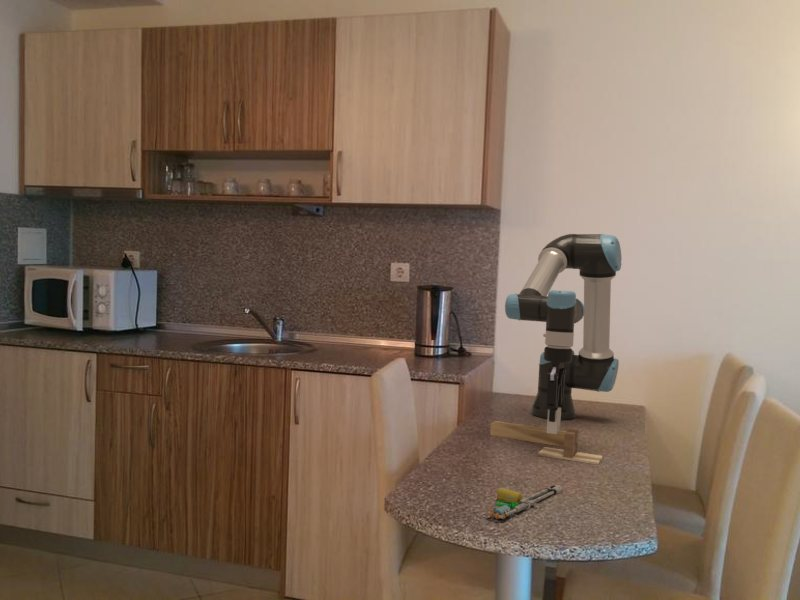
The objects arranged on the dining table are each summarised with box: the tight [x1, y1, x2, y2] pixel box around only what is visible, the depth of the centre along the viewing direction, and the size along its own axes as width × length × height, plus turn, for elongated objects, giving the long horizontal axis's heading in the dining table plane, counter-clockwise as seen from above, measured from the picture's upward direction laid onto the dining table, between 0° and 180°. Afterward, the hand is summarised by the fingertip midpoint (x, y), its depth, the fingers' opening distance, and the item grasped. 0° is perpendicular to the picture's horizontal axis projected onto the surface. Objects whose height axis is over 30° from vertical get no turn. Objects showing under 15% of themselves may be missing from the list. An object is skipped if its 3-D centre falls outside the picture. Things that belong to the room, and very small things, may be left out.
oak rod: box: [489, 420, 567, 448], centre depth 204 cm, size 4×24×4 cm, turn 64°
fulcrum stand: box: [537, 427, 604, 466], centre depth 187 cm, size 8×16×7 cm, turn 66°
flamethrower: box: [486, 484, 564, 520], centre depth 146 cm, size 29×3×10 cm
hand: (553, 431), depth 189 cm, fingers open, 3 cm apart
